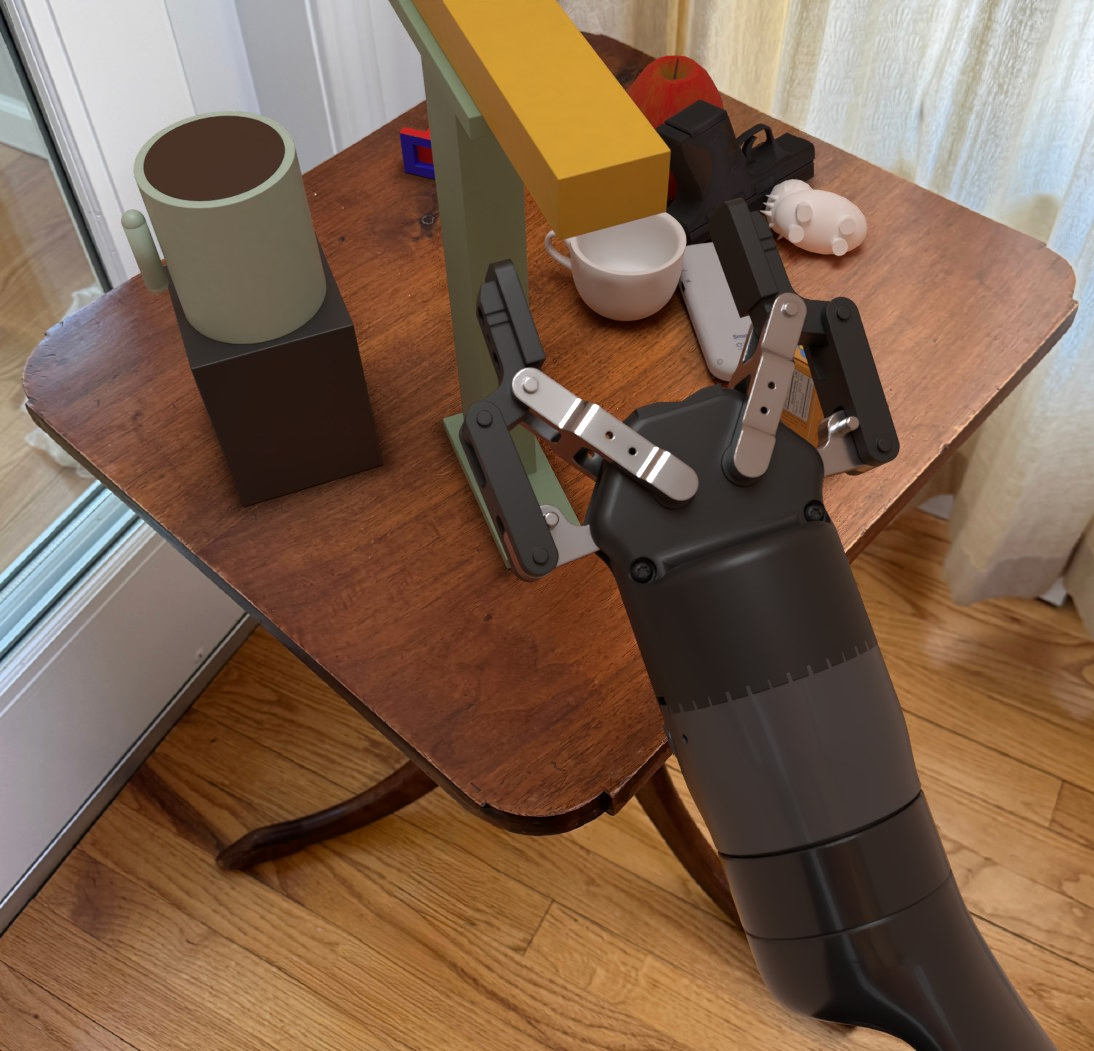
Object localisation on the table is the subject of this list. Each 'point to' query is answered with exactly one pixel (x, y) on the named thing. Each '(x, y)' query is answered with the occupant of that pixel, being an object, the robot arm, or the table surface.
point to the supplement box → (802, 401)
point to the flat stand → (475, 245)
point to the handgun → (726, 165)
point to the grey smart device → (712, 310)
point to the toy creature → (815, 218)
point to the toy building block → (417, 152)
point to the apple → (672, 93)
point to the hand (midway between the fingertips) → (612, 238)
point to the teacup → (626, 266)
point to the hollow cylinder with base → (253, 302)
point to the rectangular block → (554, 111)
